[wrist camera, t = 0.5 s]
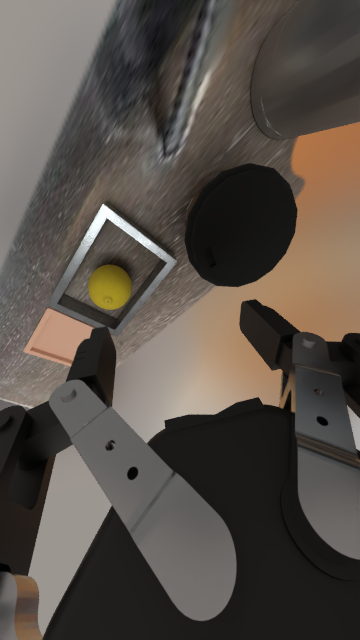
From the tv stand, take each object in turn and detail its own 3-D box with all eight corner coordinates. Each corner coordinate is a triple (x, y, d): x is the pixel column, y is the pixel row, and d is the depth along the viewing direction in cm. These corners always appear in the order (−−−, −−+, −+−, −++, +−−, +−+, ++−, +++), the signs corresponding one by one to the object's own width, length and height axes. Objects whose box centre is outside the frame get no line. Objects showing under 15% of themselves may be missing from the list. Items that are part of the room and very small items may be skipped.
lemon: (95, 290, 31) (85, 320, 25) (91, 255, 28) (79, 278, 21) (131, 291, 32) (131, 320, 26) (132, 258, 29) (131, 281, 23)
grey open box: (106, 201, 24) (102, 203, 22) (173, 254, 30) (177, 261, 28) (53, 295, 30) (46, 305, 28) (118, 325, 36) (117, 336, 33)
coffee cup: (188, 267, 32) (211, 307, 22) (154, 195, 25) (166, 208, 16) (252, 234, 30) (305, 260, 21) (233, 148, 24) (299, 130, 14)
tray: (50, 303, 31) (47, 307, 30) (112, 331, 36) (111, 335, 35) (26, 346, 35) (23, 351, 34) (85, 366, 40) (84, 371, 39)
